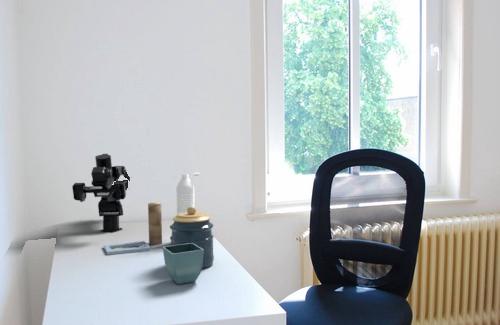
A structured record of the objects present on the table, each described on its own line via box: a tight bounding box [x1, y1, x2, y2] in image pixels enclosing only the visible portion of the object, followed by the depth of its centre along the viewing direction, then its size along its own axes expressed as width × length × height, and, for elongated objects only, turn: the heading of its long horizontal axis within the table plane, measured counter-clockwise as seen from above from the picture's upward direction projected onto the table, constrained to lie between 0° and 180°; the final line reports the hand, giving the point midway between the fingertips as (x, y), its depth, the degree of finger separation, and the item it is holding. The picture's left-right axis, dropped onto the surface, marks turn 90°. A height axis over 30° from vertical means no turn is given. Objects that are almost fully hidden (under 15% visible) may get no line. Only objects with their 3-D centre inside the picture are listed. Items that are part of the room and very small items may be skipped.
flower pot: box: [162, 243, 204, 285], centre depth 125 cm, size 9×9×9 cm
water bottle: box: [176, 172, 201, 215], centre depth 171 cm, size 9×6×25 cm
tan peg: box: [147, 202, 163, 246], centre depth 169 cm, size 5×5×14 cm
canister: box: [169, 206, 215, 270], centre depth 141 cm, size 13×13×18 cm
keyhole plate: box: [103, 240, 152, 256], centre depth 161 cm, size 14×11×1 cm
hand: (93, 200), depth 167 cm, fingers open, 9 cm apart
